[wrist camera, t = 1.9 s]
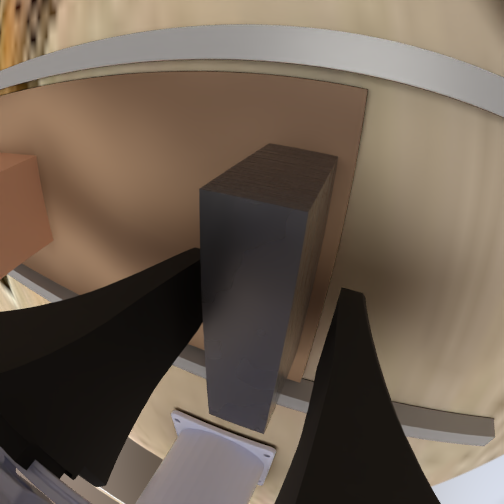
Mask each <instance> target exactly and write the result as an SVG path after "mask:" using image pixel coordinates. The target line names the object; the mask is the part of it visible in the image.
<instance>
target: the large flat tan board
mask: <svg viewBox="0 0 504 504" xmlns="http://www.w3.org/2000/svg"><path fill="white" fill-rule="evenodd" d="M367 92H368V89H364V88H359V87H354V86H348V85H343V84H337V83H331V82H325V81H319V80H312V79H305V78H297V77H288V76H279V75H269V74H256V73H241V72H218V71H171V72H147V73H132V74H121V75H110V76H101V77H93V78H86V79H79V80H72V81H66V82H60V83H55V84H49V85H44V86H39V87H35V88H30V89H26V90H21V91H17V92H13V93H9V94H5V95H2V96H0V153H13V154H25V155H36V158H37V164H38V170H39V176H40V182H41V187H42V192H43V197H44V202H45V207H46V211H47V216H48V220H49V224H50V228H51V232H52V236H53V240H54V241H52V242H51V243H49V244H48V245H46V246H45V247H44V248H42V249H41V250H39V251H38V252H37V253H35V254H34V255H32V256H31V257H30V258H28V259H27V260H25V261H24V262H23V263H22V264H24V265H25V266H27V267H29V268H30V269H32V270H34V271H36V272H37V273H39V274H41V275H43V276H45V277H46V278H48V279H50V280H52V281H54V282H56V283H58V284H59V285H61V286H63V287H65V288H67V289H69V290H71V291H73V292H75V293H77V294H79V295H82V294H85V293H88V292H91V291H94V290H97V289H99V288H102V287H105V286H107V285H110V284H112V283H114V282H117V281H119V280H122V279H124V278H126V277H129V276H131V275H134V274H136V273H138V272H141V271H143V270H145V269H147V268H149V267H151V266H154V265H156V264H158V263H160V262H162V261H164V260H167V259H169V258H171V257H173V256H175V255H178V254H180V253H182V252H184V251H187V250H189V249H192V248H195V247H196V248H199V249H200V264H201V292H202V315H203V323H202V324H201V326H200V328H199V329H198V331H197V332H196V334H195V335H194V336H193V338H192V339H191V340H190V342H189V343H188V344H189V345H192V346H195V347H197V348H200V349H202V350H204V351H205V366H206V380H207V393H208V406H209V414H211V415H214V416H216V417H219V418H221V419H224V420H226V421H229V422H232V423H234V424H237V425H240V426H242V427H245V428H248V429H251V430H254V431H257V432H260V433H262V434H264V432H265V430H266V428H267V425H268V423H269V421H270V418H271V416H272V414H273V411H274V409H275V407H276V404H277V402H278V399H279V397H280V394H281V392H282V389H283V387H284V385H285V382H286V380H287V379H289V380H293V381H296V382H299V383H300V382H301V379H302V376H303V373H304V370H305V367H306V364H307V360H308V357H309V354H310V351H311V347H312V344H313V341H314V337H315V334H316V330H317V327H318V323H319V320H320V316H321V313H322V309H323V306H324V302H325V298H326V294H327V291H328V287H329V283H330V279H331V275H332V271H333V267H334V263H335V259H336V255H337V251H338V247H339V242H340V238H341V234H342V229H343V225H344V220H345V216H346V211H347V206H348V202H349V197H350V192H351V187H352V182H353V177H354V172H355V166H356V161H357V155H358V150H359V144H360V138H361V132H362V126H363V119H364V113H365V106H366V99H367Z"/></svg>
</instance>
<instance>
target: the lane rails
mask: <svg viewBox="0 0 504 504" xmlns="http://www.w3.org/2000/svg"><path fill="white" fill-rule="evenodd" d="M195 59H223V60H251V61H267V62H279V63H290V64H299V65H307V66H315V67H322V68H329V69H335V70H341V71H347V72H352V73H358V74H363V75H368V76H373V77H377V78H382V79H386V80H390V81H394V82H399V83H402V84H406V85H410V86H414V87H417V88H421V89H424V90H428V91H431V92H435V93H438V94H441V95H444V96H447V97H450V98H453V99H456V100H459V101H462V102H465V103H468V104H470V105H473V106H476V107H478V108H481V109H483V110H486V111H489V112H491V113H493V114H496V115H498V116H501V117H503V118H504V78H503V77H501V76H499V75H496V74H494V73H492V72H489V71H487V70H484V69H482V68H479V67H477V66H474V65H471V64H469V63H466V62H463V61H460V60H457V59H454V58H451V57H448V56H445V55H442V54H439V53H436V52H432V51H429V50H425V49H422V48H418V47H415V46H411V45H407V44H403V43H399V42H394V41H390V40H385V39H381V38H376V37H371V36H365V35H360V34H354V33H348V32H341V31H334V30H326V29H317V28H307V27H296V26H280V25H207V26H191V27H180V28H170V29H161V30H153V31H146V32H140V33H134V34H128V35H122V36H117V37H112V38H107V39H102V40H98V41H93V42H89V43H85V44H81V45H77V46H73V47H70V48H66V49H62V50H59V51H56V52H52V53H49V54H46V55H43V56H40V57H37V58H34V59H31V60H28V61H25V62H22V63H20V64H17V65H14V66H12V67H9V68H7V69H4V70H2V71H0V89H4V88H7V87H10V86H14V85H17V84H21V83H25V82H29V81H33V80H37V79H41V78H45V77H49V76H54V75H59V74H64V73H69V72H74V71H79V70H85V69H91V68H98V67H105V66H112V65H120V64H129V63H140V62H152V61H167V60H195ZM8 275H10V276H11V277H13V278H14V279H16V280H17V281H19V282H20V283H22V284H23V285H25V286H26V287H28V288H29V289H31V290H32V291H34V292H36V293H37V294H39V295H40V296H42V297H44V298H45V299H47V300H48V301H50V302H52V303H53V302H57V301H61V300H65V299H69V298H72V297H76V296H79V294H77V293H75V292H73V291H71V290H69V289H67V288H65V287H63V286H61V285H59V284H58V283H56V282H54V281H52V280H50V279H48V278H46V277H45V276H43V275H41V274H39V273H37V272H36V271H34V270H32V269H30V268H29V267H27V266H25V265H24V264H22V263H21V264H20V265H19V266H17V267H16V268H15V269H13V270H12V271H11V272H9V273H8ZM172 365H174V366H176V367H179V368H181V369H183V370H186V371H188V372H190V373H193V374H195V375H198V376H200V377H203V378H205V379H206V366H205V351H204V350H202V349H200V348H197V347H195V346H192V345H189V344H187V346H186V347H185V348H184V350H183V351H182V352H181V354H180V355H179V356H178V358H177V359H176V360H175V362H174V363H173V364H172ZM313 384H314V382H312V381H308V380H305V379H301V382H300V383H299V382H296V381H293V380H289V379H287V380H286V382H285V385H284V387H283V389H282V392H281V394H280V397H279V399H278V402H277V405H281V406H284V407H287V408H290V409H294V410H297V411H300V412H304V413H307V411H308V407H309V402H310V398H311V393H312V389H313ZM392 403H393V406H394V409H395V411H396V414H397V417H398V419H399V421H400V424H401V426H402V428H403V431H404V433H405V436H407V437H413V438H419V439H425V440H432V441H439V442H447V443H456V444H465V445H476V446H485V445H486V444H488V443H489V442H490V441H491V440H492V439H494V438H495V430H494V419H492V418H484V417H476V416H469V415H462V414H455V413H449V412H443V411H437V410H431V409H426V408H420V407H415V406H410V405H405V404H400V403H395V402H392Z"/></svg>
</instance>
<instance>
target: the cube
mask: <svg viewBox="0 0 504 504" xmlns="http://www.w3.org/2000/svg"><path fill="white" fill-rule="evenodd" d="M52 241H54V240H53V236H52V232H51V228H50V224H49V220H48V216H47V211H46V207H45V202H44V197H43V192H42V187H41V182H40V176H39V170H38V164H37V158H36V155H25V154H13V153H0V279H1V278H3V277H4V276H5V275H7V274H8V273H9V272H11V271H12V270H13V269H15V268H16V267H17V266H19V265H20V264H21V263H23V262H24V261H25V260H27V259H28V258H30V257H31V256H32V255H34V254H35V253H37V252H38V251H39V250H41V249H42V248H44V247H45V246H46V245H48V244H49V243H51V242H52Z"/></svg>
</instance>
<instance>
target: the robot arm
mask: <svg viewBox="0 0 504 504" xmlns="http://www.w3.org/2000/svg"><path fill="white" fill-rule="evenodd" d="M202 323H203V315H202V292H201V264H200V249H199V248H196V247H195V248H192V249H189V250H187V251H184V252H182V253H180V254H178V255H175V256H173V257H171V258H169V259H167V260H164V261H162V262H160V263H158V264H156V265H154V266H151V267H149V268H147V269H145V270H143V271H141V272H138V273H136V274H134V275H131V276H129V277H126V278H124V279H122V280H119V281H117V282H114V283H112V284H110V285H107V286H105V287H102V288H99V289H97V290H94V291H91V292H88V293H85V294H82V295H79V296H76V297H72V298H69V299H65V300H61V301H57V302H53V303H49V304H45V305H41V306H36V307H31V308H25V309H19V310H12V311H4V312H0V504H53V503H52V502H51V501H50V500H49V498H50V499H51V500H52V501H53V502H55V503H56V504H92V503H90V502H89V501H88V500H86V499H85V498H83V497H82V496H81V495H79V494H78V493H77V492H75V491H74V490H72V489H71V488H70V487H68V486H67V485H66V484H65V483H64V482H62V481H61V480H60V478H61V476H62V475H63V474H64V473H65V474H66V475H67V476H69V477H70V478H71V479H73V480H74V479H75V478H76V477H77V476H78V475H79V476H81V477H82V478H83V479H85V480H86V481H87V482H89V483H90V484H92V485H93V486H95V487H101V486H105V485H106V484H107V482H108V479H109V477H110V474H111V472H112V470H113V467H114V465H115V463H116V460H117V458H118V456H119V454H120V452H121V450H122V448H123V445H124V444H125V441H126V439H127V437H128V435H129V433H130V432H131V430H132V428H133V426H134V424H135V422H136V420H137V419H138V417H139V415H140V413H141V411H142V409H143V408H144V406H145V404H146V403H147V401H148V399H149V397H150V396H151V394H152V392H153V391H154V389H155V388H156V386H157V385H158V383H159V382H160V380H161V379H162V377H163V376H164V375H165V373H166V372H167V371H168V369H169V368H170V367H171V366H172V364H173V363H174V362H175V360H176V359H177V358H178V356H179V355H180V354H181V352H182V351H183V350H184V348H185V347H186V346H187V344H188V343H189V342H190V340H191V339H192V338H193V336H194V335H195V334H196V332H197V331H198V329H199V328H200V326H201V324H202ZM171 416H172V419H173V422H174V426H175V429H176V432H177V436H178V437H177V439H176V441H175V442H174V444H173V445H172V447H171V449H170V450H169V452H168V453H167V455H166V456H165V458H164V460H163V461H162V463H161V464H160V466H159V468H158V469H157V471H156V472H155V474H154V475H153V477H152V478H151V480H150V482H149V483H148V485H147V486H146V488H145V489H144V491H143V492H142V494H141V496H140V497H139V499H138V500H137V502H136V503H135V504H248V503H249V501H250V499H251V496H252V494H253V492H254V490H255V488H256V485H263V484H264V481H265V479H266V476H267V474H268V471H269V469H270V466H271V464H272V461H273V459H274V456H275V453H276V450H275V449H274V448H272V447H270V446H267V445H264V444H261V443H258V442H255V441H252V440H249V439H246V438H244V437H241V436H238V435H236V434H233V433H230V432H228V431H225V430H222V429H220V428H217V427H215V426H212V425H210V424H208V423H205V422H203V421H200V420H198V419H196V418H193V417H191V416H189V415H187V414H184V413H182V412H180V411H178V410H173V411H172V413H171ZM16 468H17V469H18V470H19V471H20V472H21V473H22V474H23V475H25V477H26V478H28V479H29V480H30V481H31V482H32V483H33V484H34V485H35V486H36V487H37V488H38V489H39V490H41V491H42V492H43V493H44V494H45V495H47V496H45V495H44V494H43V493H42V492H40V491H39V490H38V489H37V488H35V487H34V486H32V485H31V484H30V483H29V482H27V481H26V480H25V479H23V478H22V477H21V476H19V475H18V474H17V473H16ZM48 497H49V498H48ZM275 504H441V503H440V502H439V500H438V498H437V497H436V495H435V493H434V492H433V490H432V488H431V486H430V484H429V482H428V480H427V479H426V477H425V475H424V473H423V471H422V469H421V467H420V465H419V463H418V461H417V459H416V457H415V454H414V452H413V450H412V448H411V446H410V444H409V442H408V440H407V438H406V436H405V433H404V431H403V428H402V426H401V424H400V421H399V419H398V417H397V414H396V411H395V409H394V406H393V403H392V401H391V398H390V395H389V392H388V389H387V386H386V383H385V380H384V377H383V374H382V371H381V368H380V364H379V361H378V357H377V353H376V349H375V345H374V342H373V338H372V334H371V329H370V324H369V320H368V314H367V309H366V301H365V296H364V295H363V293H360V292H356V291H352V290H349V289H345V288H342V289H341V292H340V295H339V299H338V302H337V305H336V309H335V312H334V315H333V318H332V322H331V325H330V328H329V331H328V334H327V337H326V340H325V344H324V347H323V350H322V353H321V357H320V360H319V363H318V366H317V371H316V375H315V380H314V384H313V389H312V393H311V398H310V402H309V407H308V411H307V415H306V419H305V423H304V427H303V431H302V435H301V438H300V441H299V444H298V447H297V450H296V453H295V455H294V458H293V460H292V463H291V465H290V468H289V471H288V473H287V475H286V478H285V480H284V483H283V485H282V488H281V490H280V492H279V495H278V497H277V499H276V501H275Z"/></svg>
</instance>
